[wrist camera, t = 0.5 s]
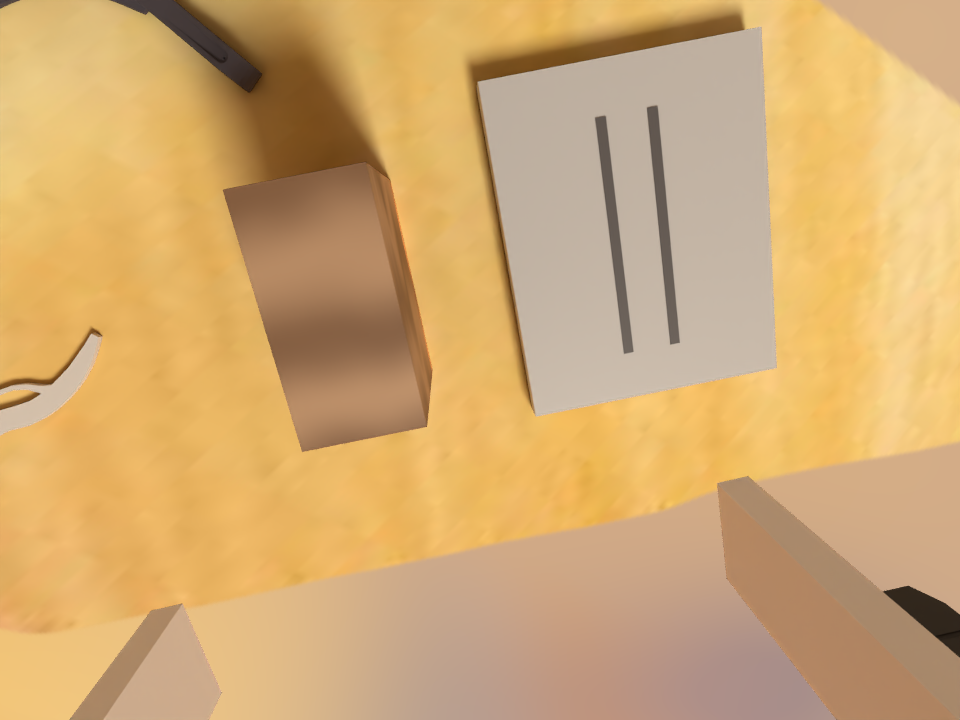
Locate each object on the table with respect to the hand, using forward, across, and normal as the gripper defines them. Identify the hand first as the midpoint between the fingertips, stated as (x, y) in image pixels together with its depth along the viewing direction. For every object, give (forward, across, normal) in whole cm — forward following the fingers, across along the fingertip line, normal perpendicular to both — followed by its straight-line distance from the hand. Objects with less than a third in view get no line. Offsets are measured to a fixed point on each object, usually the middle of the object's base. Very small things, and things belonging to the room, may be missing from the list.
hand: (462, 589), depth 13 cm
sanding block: (+23, -4, +5) cm, 24 cm away
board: (+22, +13, +5) cm, 26 cm away
